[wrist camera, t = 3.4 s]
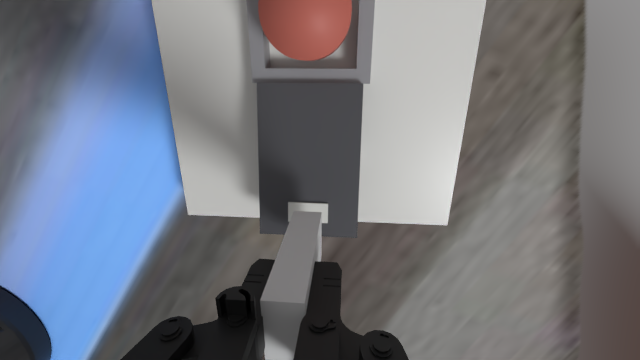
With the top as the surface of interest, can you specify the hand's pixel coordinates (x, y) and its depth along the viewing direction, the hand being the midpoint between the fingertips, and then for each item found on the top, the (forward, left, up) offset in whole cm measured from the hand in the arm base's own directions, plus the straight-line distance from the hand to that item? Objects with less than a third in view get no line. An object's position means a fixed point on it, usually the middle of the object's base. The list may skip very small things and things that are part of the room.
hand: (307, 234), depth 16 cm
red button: (0, +11, -4) cm, 12 cm away
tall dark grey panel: (0, +3, -4) cm, 5 cm away
